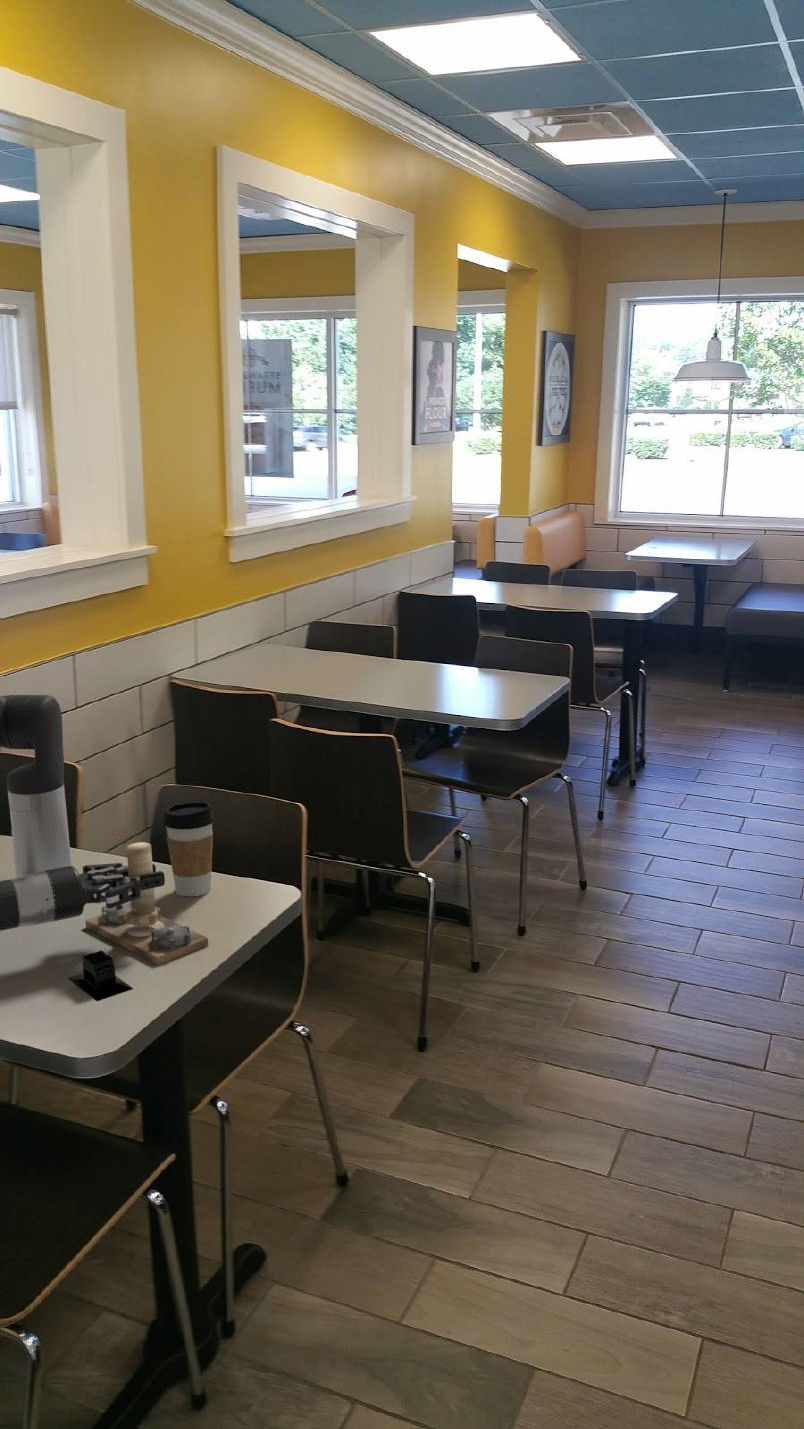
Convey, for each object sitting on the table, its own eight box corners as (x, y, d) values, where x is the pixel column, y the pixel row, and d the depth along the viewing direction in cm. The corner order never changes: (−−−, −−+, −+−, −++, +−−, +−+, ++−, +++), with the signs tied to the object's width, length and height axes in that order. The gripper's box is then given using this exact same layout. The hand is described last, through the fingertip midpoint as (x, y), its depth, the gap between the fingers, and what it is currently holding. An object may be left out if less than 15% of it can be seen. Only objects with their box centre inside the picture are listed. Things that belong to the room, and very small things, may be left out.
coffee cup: (208, 901, 190) (202, 815, 186) (160, 898, 191) (154, 812, 188) (225, 882, 198) (220, 799, 194) (179, 880, 199) (174, 797, 196)
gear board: (85, 927, 180) (84, 907, 180) (135, 910, 187) (133, 891, 186) (157, 964, 167) (156, 943, 166) (208, 945, 173) (207, 925, 172)
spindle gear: (121, 920, 176) (116, 846, 173) (147, 911, 179) (142, 839, 176) (139, 929, 172) (134, 854, 170) (166, 920, 176) (161, 846, 173)
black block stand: (144, 994, 159) (141, 964, 158) (95, 1011, 154) (92, 980, 153) (103, 965, 168) (101, 936, 167) (56, 980, 164) (53, 950, 163)
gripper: (55, 887, 160) (173, 864, 169) (32, 858, 172) (143, 837, 181) (60, 937, 162) (176, 911, 171) (36, 905, 174) (146, 882, 182)
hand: (158, 873), depth 176 cm, fingers closed on spindle gear, 3 cm apart
